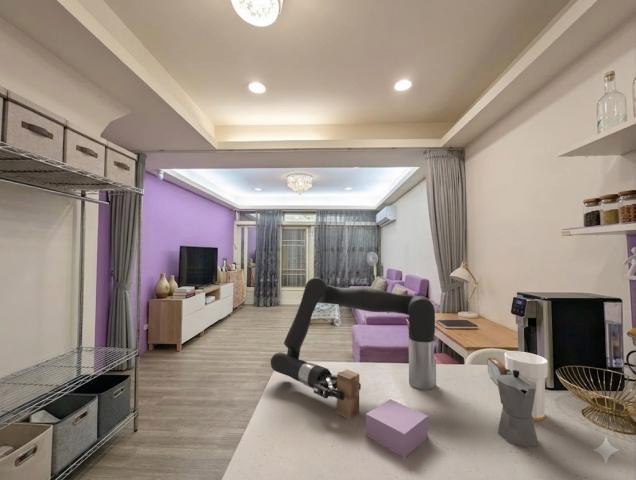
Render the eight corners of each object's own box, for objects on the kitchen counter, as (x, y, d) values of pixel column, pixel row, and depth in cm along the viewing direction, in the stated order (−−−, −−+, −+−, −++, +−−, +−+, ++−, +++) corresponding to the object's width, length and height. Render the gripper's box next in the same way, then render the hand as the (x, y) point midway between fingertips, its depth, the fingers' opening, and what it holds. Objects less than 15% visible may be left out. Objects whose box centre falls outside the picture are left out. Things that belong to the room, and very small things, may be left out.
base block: (390, 419, 88) (390, 399, 89) (428, 438, 79) (427, 415, 80) (365, 436, 80) (365, 413, 80) (404, 459, 71) (404, 434, 72)
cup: (543, 408, 95) (542, 354, 96) (554, 426, 85) (552, 366, 85) (502, 400, 100) (501, 349, 100) (508, 417, 89) (507, 359, 90)
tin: (510, 392, 106) (510, 368, 106) (501, 391, 106) (500, 368, 107) (494, 375, 120) (493, 354, 121) (485, 374, 121) (485, 354, 121)
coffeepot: (548, 456, 72) (546, 383, 73) (505, 448, 75) (503, 377, 76) (525, 422, 87) (524, 361, 88) (489, 416, 90) (488, 357, 90)
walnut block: (346, 406, 95) (346, 369, 95) (359, 412, 91) (359, 373, 92) (336, 413, 91) (337, 374, 91) (349, 419, 88) (349, 378, 88)
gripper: (299, 371, 96) (337, 387, 85) (327, 359, 107) (365, 372, 96) (299, 394, 96) (337, 413, 85) (327, 380, 106) (365, 395, 95)
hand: (352, 391), depth 90 cm, fingers open, 8 cm apart
